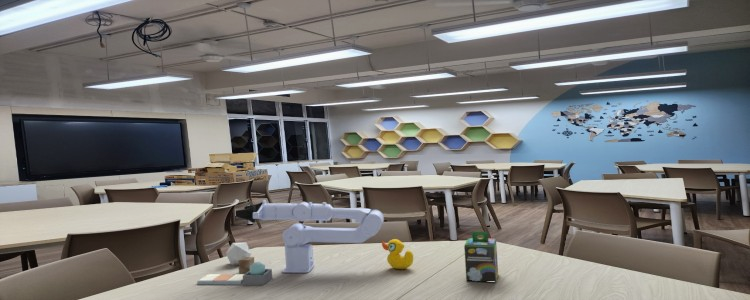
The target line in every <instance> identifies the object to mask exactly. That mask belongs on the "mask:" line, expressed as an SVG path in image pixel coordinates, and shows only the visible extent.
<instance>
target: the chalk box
mask: <svg viewBox="0 0 750 300" xmlns="http://www.w3.org/2000/svg"><path fill="white" fill-rule="evenodd" d="M471 233H472V234H471V235H472V237H470V238H468V239H466V241H465V243H464V246H463V247H464V263H465V279H466V280H472V281H471V282H477V281H496V280H498V277H497V276H499V267H498V266H499V265H498V251H497V250H498V249H497V239H496V238H494V237H493V238H492V237H489V233H488V231H478V230H477V231H474V230H473V231H472V232H471ZM479 235H480V236H483V237H481V238H480V237H478V236H479ZM496 282H497V281H496Z"/></svg>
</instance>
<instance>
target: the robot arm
mask: <svg viewBox="0 0 750 300" xmlns="http://www.w3.org/2000/svg"><path fill="white" fill-rule="evenodd" d="M243 208H244V209H237V210H235V218H238V219H244V220H246V221H248V222H250V223H255V222H256V219H257V220H258V219H259V220H262V221H267V220H268V221H269V220H270V221H271V220H272V221H273V220H275V221H276V220H278V221H279V220H286V221H287V220H297V221H299V222H296V223H294V224H292V225H291V226H290V227H288V228H286V229H285V230H283V232H282V236H281V237H282V241H283V243H284V252H285V253H284V254H285V255H284V256H285V258H284V259H285V268H284V269H283V270H281V272H282V273H286V274H287V273H296V274H297V273H302V274H303V273H309V272H310V271H311V270H312V269H313V268H314V267H315V263H314V249H313V247H314V246H313V245H312V244H310V243H339V244H340V243H341V244H342V243H345V244H348V243H349V244H361V243H364V242H365V241H368V240H369V239H370V238H372V237H373V236H376V235H377V234H378V232H379V231H380V230H381V229H382V227H383V223H384V221H385V216H384V214H383V212H382V211H380V210H379V209H371V208H364V207H362V208H361V207H352V208H351V207H333V206H332V205H331V204H330V203H327V202H324V201H323V202H322V203H313V201H309V202H306V201H301V202H300V203H294V202H293V203H291V202H290V203H289V202H287V203H285V202H282V203H281V202H280V203H278V202H276V203H274V202H271V203H270V202H268V203H267V200H266V199H263V200H262V201H261V202H259V203H256V204H250V205H246V206H244V207H243ZM332 218H336V219H337V218H338V219H348V220H355V221H356V222H357V224H359V225H358V227H356V228H355V227H354V228H353V227H352V228H351V227H313V226H312V225H311V226H310V225H305V224H302V223H300V222H305V221H307V220H310V221H324V222H325V221H327V222H329V221H330V220H332ZM307 243H309V244H307Z"/></svg>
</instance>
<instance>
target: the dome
mask: <svg viewBox="0 0 750 300" xmlns="http://www.w3.org/2000/svg"><path fill="white" fill-rule="evenodd" d="M265 269H266V265H265V264H263V263H262V262H260V261H254V264H253V265H252V266H250V275H263V274H264V273H265Z"/></svg>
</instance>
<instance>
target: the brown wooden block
mask: <svg viewBox="0 0 750 300" xmlns="http://www.w3.org/2000/svg"><path fill="white" fill-rule="evenodd" d="M238 262H239V265H238V274H246V273H247V272H248V271H250V266H252V265H253V264H254V263H255V256H250V257H243V258H241V259H239V260H238Z"/></svg>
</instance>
